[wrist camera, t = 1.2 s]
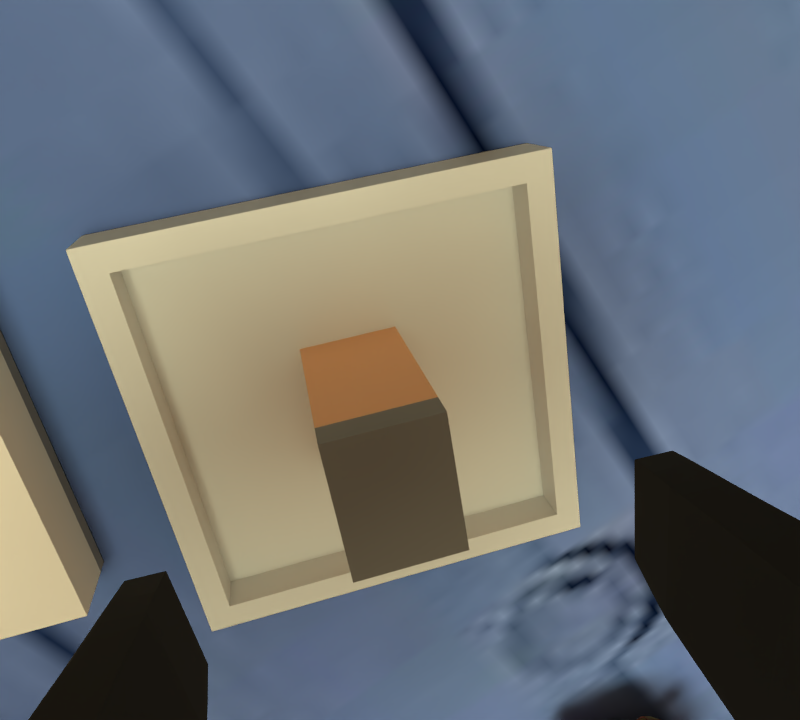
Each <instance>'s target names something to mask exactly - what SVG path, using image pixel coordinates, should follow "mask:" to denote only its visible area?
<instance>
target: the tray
mask: <svg viewBox="0 0 800 720" xmlns="http://www.w3.org/2000/svg"><path fill="white" fill-rule="evenodd" d="M66 252H67V255H68V257H69V260H70V262H71V265H72V268H73V270H74V273H75V276H76V278H77V281H78V283H79V286H80V289H81V291H82V294H83V296H84V299H85V302H86V304H87V307H88V309H89V312H90V315H91V317H92V320H93V322H94V325H95V328H96V330H97V333H98V335H99V338H100V341H101V343H102V346H103V348H104V351H105V354H106V356H107V359H108V362H109V364H110V367H111V369H112V372H113V375H114V377H115V380H116V382H117V385H118V388H119V390H120V393H121V395H122V398H123V401H124V403H125V406H126V408H127V411H128V414H129V416H130V419H131V421H132V424H133V427H134V429H135V432H136V434H137V437H138V440H139V442H140V445H141V448H142V450H143V453H144V455H145V458H146V461H147V463H148V466H149V468H150V471H151V474H152V476H153V479H154V481H155V484H156V487H157V489H158V492H159V494H160V497H161V500H162V502H163V505H164V507H165V510H166V513H167V515H168V518H169V520H170V523H171V526H172V528H173V531H174V534H175V536H176V539H177V541H178V544H179V547H180V549H181V552H182V554H183V557H184V560H185V562H186V565H187V567H188V570H189V573H190V575H191V578H192V580H193V583H194V586H195V588H196V591H197V593H198V596H199V599H200V601H201V604H202V606H203V609H204V612H205V614H206V617H207V620H208V622H209V625H210V627H211V630H212V631H215V630H219V629H223V628H226V627H230V626H233V625H237V624H240V623H244V622H247V621H251V620H254V619H258V618H261V617H265V616H268V615H272V614H275V613H279V612H282V611H286V610H289V609H293V608H296V607H300V606H303V605H307V604H310V603H314V602H317V601H321V600H324V599H328V598H332V597H335V596H339V595H342V594H346V593H349V592H353V591H356V590H360V589H363V588H367V587H370V586H374V585H377V584H381V583H384V582H388V581H391V580H395V579H398V578H402V577H405V576H409V575H412V574H416V573H419V572H423V571H426V570H430V569H434V568H437V567H441V566H444V565H448V564H451V563H455V562H458V561H462V560H465V559H469V558H472V557H476V556H479V555H483V554H486V553H490V552H493V551H497V550H500V549H504V548H507V547H511V546H514V545H518V544H521V543H525V542H528V541H532V540H535V539H539V538H543V537H546V536H550V535H553V534H557V533H560V532H564V531H567V530H571V529H574V528H578V527H580V518H579V505H578V491H577V478H576V465H575V452H574V438H573V425H572V412H571V398H570V385H569V372H568V359H567V345H566V332H565V319H564V306H563V292H562V279H561V266H560V253H559V239H558V226H557V213H556V200H555V186H554V173H553V160H552V148H549V147H544V146H539V145H534V144H529V143H525V144H520V145H516V146H511V147H506V148H501V149H496V150H492V151H487V152H482V153H477V154H472V155H467V156H463V157H458V158H453V159H448V160H443V161H439V162H434V163H429V164H424V165H419V166H415V167H410V168H405V169H400V170H395V171H391V172H386V173H381V174H376V175H371V176H367V177H362V178H357V179H352V180H347V181H342V182H338V183H333V184H328V185H323V186H318V187H314V188H309V189H304V190H299V191H294V192H290V193H285V194H280V195H275V196H270V197H266V198H261V199H256V200H251V201H246V202H242V203H237V204H232V205H227V206H222V207H217V208H213V209H208V210H203V211H198V212H193V213H189V214H184V215H179V216H174V217H169V218H165V219H160V220H155V221H150V222H145V223H141V224H136V225H131V226H126V227H121V228H117V229H112V230H107V231H102V232H97V233H92V234H88V235H83V236H81V237H80V238H79V239H78V240H77V241H75V242H74V243H73V244H72V245H71V246H70V247H68V248H67V249H66ZM391 327H396V329H397V330H398V332H399V334H400V335H401V337H402V339H403V340H404V342H405V344H406V345H407V347H408V348H409V350H410V352H411V353H412V355H413V357H414V358H415V360H416V362H417V363H418V365H419V366H420V368H421V370H422V371H423V373H424V375H425V376H426V378H427V380H428V381H429V383H430V385H431V386H432V388H433V389H434V391H435V393H436V394H437V396H438V398H439V399H440V401H441V403H442V404H443V406H444V408H445V409H446V411H447V415H448V421H449V427H450V433H451V439H452V445H453V452H454V458H455V464H456V470H457V476H458V483H459V489H460V495H461V501H462V507H463V513H464V520H465V526H466V532H467V538H468V544H469V550H468V551H464V552H461V553H457V554H454V555H450V556H447V557H443V558H440V559H436V560H433V561H429V562H425V563H422V564H418V565H415V566H411V567H408V568H404V569H401V570H397V571H394V572H390V573H387V574H383V575H379V576H376V577H372V578H369V579H365V580H362V581H358V582H355V583H353V580H352V576H351V572H350V569H349V565H348V561H347V557H346V553H345V549H344V545H343V541H342V538H341V534H340V530H339V526H338V522H337V518H336V514H335V510H334V506H333V503H332V499H331V495H330V491H329V487H328V483H327V479H326V475H325V472H324V468H323V464H322V460H321V456H320V452H319V448H318V444H317V439H316V434H315V428H314V423H313V418H312V412H311V407H310V402H309V396H308V391H307V386H306V380H305V375H304V370H303V364H302V359H301V354H300V349H303V348H307V347H311V346H315V345H319V344H324V343H328V342H332V341H336V340H341V339H345V338H349V337H353V336H357V335H362V334H366V333H370V332H374V331H378V330H383V329H387V328H391Z"/></svg>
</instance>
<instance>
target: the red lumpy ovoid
mask: <svg viewBox="0 0 800 720" xmlns="http://www.w3.org/2000/svg"><path fill="white" fill-rule="evenodd" d="M636 720H661V719H656V718H654V717H651V716H641V717H639V718H638V719H636Z"/></svg>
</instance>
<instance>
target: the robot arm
mask: <svg viewBox="0 0 800 720" xmlns="http://www.w3.org/2000/svg"><path fill="white" fill-rule="evenodd" d="M635 560H636V562H637V564H638V566H639V568H640V570H641V572H642V574H643V576H644V578H645V580H646V582H647V583H648V585H649V587H650V589H651V591H652V593H653V595H654V597H655V599H656V601H657V603H658V604H659V606H660V608H661V610H662V612H663V614H664V616H665V618H666V619H667V621H668V622H669V624H670V625H671V627H672V628H673V630H674V631H675V633H676V634H677V636H678V637H679V639H680V640H681V642H682V643H683V645H684V646H685V648H686V649H687V651H688V652H689V654H690V655H691V657H692V658H693V660H694V661H695V663H696V664H697V665H698V667H699V668H700V670H701V671H702V673H703V674H704V676H705V677H706V679H707V680H708V682H709V683H710V684H711V686H712V687H713V689H714V690H715V692H716V693H717V695H718V696H719V698H720V699H721V701H722V702H723V703H724V705H725V706H726V708H727V709H728V711H729V712H730V714H731V715H732V717H733V718H734V720H800V520H798V519H796V518H794V517H792V516H790V515H789V514H787V513H785V512H783V511H781V510H779V509H777V508H776V507H774V506H772V505H770V504H768V503H766V502H765V501H763V500H761V499H759V498H757V497H755V496H754V495H752V494H750V493H748V492H747V491H745V490H743V489H741V488H739V487H738V486H736V485H734V484H732V483H730V482H729V481H727V480H725V479H723V478H721V477H720V476H718V475H716V474H714V473H713V472H711V471H709V470H707V469H705V468H704V467H702V466H700V465H698V464H696V463H695V462H693V461H691V460H689V459H687V458H686V457H684V456H682V455H680V454H678V453H676V452H674V451H669V452H665V453H661V454H657V455H652V456H648V457H644V458H640V459H636V460H635ZM207 704H208V663H207V661H206V659H205V657H204V654H203V652H202V650H201V648H200V646H199V643H198V641H197V639H196V637H195V634H194V632H193V630H192V628H191V626H190V623H189V621H188V619H187V617H186V614H185V612H184V610H183V608H182V606H181V603H180V601H179V599H178V597H177V594H176V592H175V590H174V588H173V586H172V583H171V581H170V579H169V577H168V574H167V572H166V571H165V572H160V573H156V574H152V575H148V576H144V577H139V578H135V579H131V580H127V581H124V583H123V584H122V585H121V587H120V588H119V590H118V591H117V593H116V594H115V595H114V597H113V598H112V600H111V601H110V603H109V604H108V606H107V607H106V608H105V610H104V611H103V613H102V614H101V616H100V617H99V619H98V620H97V622H96V623H95V624H94V626H93V627H92V629H91V630H90V632H89V633H88V635H87V636H86V638H85V639H84V641H83V642H82V644H81V645H80V647H79V648H78V649H77V651H76V652H75V654H74V655H73V657H72V658H71V660H70V661H69V663H68V664H67V666H66V667H65V668H64V670H63V671H62V673H61V674H60V676H59V677H58V678H57V680H56V681H55V683H54V684H53V686H52V687H51V688H50V690H49V691H48V693H47V694H46V695H45V697H44V698H43V700H42V701H41V703H40V704H39V705H38V707H37V708H36V710H35V711H34V712H33V714H32V715H31V717H30V718H29V719H28V720H207Z"/></svg>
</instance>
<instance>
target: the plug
mask: <svg viewBox="0 0 800 720" xmlns="http://www.w3.org/2000/svg"><path fill="white" fill-rule="evenodd" d="M300 354H301V359H302V364H303V370H304V375H305V380H306V386H307V391H308V396H309V402H310V407H311V412H312V418H313V423H314V428H315V434H316V439H317V444H318V448H319V452H320V456H321V460H322V464H323V468H324V472H325V475H326V479H327V483H328V487H329V491H330V495H331V499H332V503H333V506H334V510H335V514H336V518H337V522H338V526H339V530H340V534H341V538H342V541H343V545H344V549H345V553H346V557H347V561H348V565H349V569H350V572H351V576H352V580H353V583H355V582H358V581H362V580H365V579H369V578H372V577H376V576H379V575H383V574H387V573H390V572H394V571H397V570H401V569H404V568H408V567H411V566H415V565H418V564H422V563H425V562H429V561H433V560H436V559H440V558H443V557H447V556H450V555H454V554H457V553H461V552H464V551H468V550H469V544H468V538H467V532H466V526H465V520H464V513H463V507H462V501H461V495H460V489H459V483H458V476H457V470H456V464H455V458H454V452H453V445H452V439H451V433H450V427H449V421H448V415H447V411H446V409H445V408H444V406H443V404H442V403H441V401H440V399H439V398H438V396H437V394H436V393H435V391H434V389H433V388H432V386H431V385H430V383H429V381H428V380H427V378H426V376H425V375H424V373H423V371H422V370H421V368H420V366H419V365H418V363H417V362H416V360H415V358H414V357H413V355H412V353H411V352H410V350H409V348H408V347H407V345H406V344H405V342H404V340H403V339H402V337H401V335H400V334H399V332H398V330H397V329H396V327H391V328H387V329H383V330H378V331H374V332H370V333H366V334H362V335H357V336H353V337H349V338H345V339H341V340H336V341H332V342H328V343H324V344H319V345H315V346H311V347H307V348H303V349H300Z"/></svg>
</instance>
